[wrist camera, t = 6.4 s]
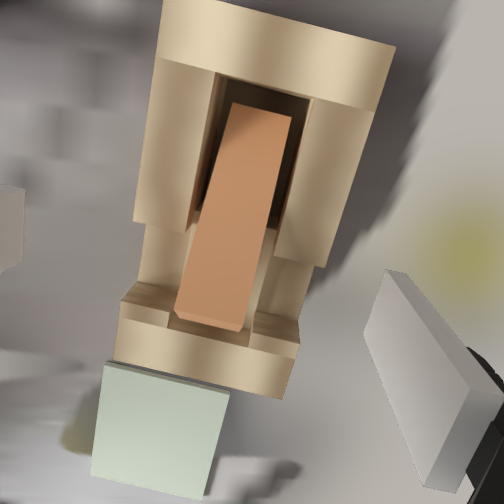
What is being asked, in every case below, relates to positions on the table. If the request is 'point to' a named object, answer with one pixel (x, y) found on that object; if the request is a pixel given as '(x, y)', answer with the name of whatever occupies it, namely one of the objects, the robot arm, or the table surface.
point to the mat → (156, 430)
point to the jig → (286, 190)
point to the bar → (233, 219)
